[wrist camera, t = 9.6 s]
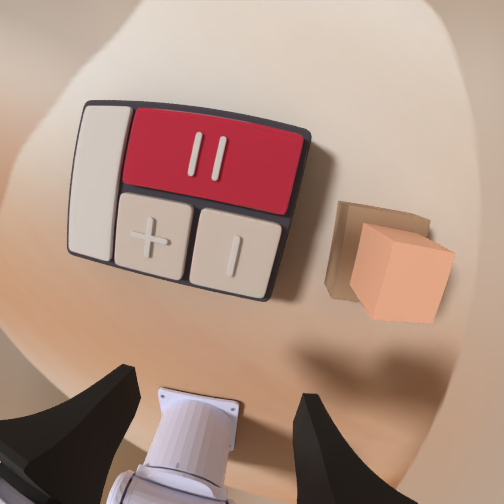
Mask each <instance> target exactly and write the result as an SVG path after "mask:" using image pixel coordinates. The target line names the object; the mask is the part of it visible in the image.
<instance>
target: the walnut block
mask: <svg viewBox="0 0 504 504" xmlns="http://www.w3.org/2000/svg"><path fill="white" fill-rule="evenodd" d="M363 223H368V224H373V225H379V226H384V227H389V228H394V229H399V230H404V231H409V232H413V233H418V234H420V235H422V236H424V237H425V238H427V235H428V230H429V225H430V220H428V219H425V218H423V217H420V216H417V215H414V214H411V213H406V212H401V211H395V210H390V209H385V208H379V207H374V206H368V205H362V204H356V203H350V202H343V201H338V207H337V213H336V220H335V227H334V233H333V239H332V245H331V251H330V256H329V262H328V267H327V272H326V277H325V285H326V287H327V290H328V292H329V294H330V296H331V298H332V299H338V300H351V301H360V300H359V299H358V297H357V295H356V294H355V292H354V291H353V289H352V288H351V286H350V280H351V276H352V272H353V268H354V264H355V260H356V255H357V251H358V247H359V242H360V237H361V232H362V227H363Z"/></svg>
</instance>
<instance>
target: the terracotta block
mask: <svg viewBox="0 0 504 504" xmlns="http://www.w3.org/2000/svg"><path fill="white" fill-rule="evenodd" d="M454 257H455V253H454V252H452V251H450V250H448V249H447V248H445V247H443V246H441V245H439V244H437V243H435V242H433V241H431V240H429V239H427V238H425V237H424V236H422V235H420V234H418V233H413V232H409V231H404V230H399V229H394V228H389V227H384V226H379V225H373V224H368V223H363V227H362V232H361V237H360V242H359V247H358V251H357V255H356V260H355V264H354V268H353V272H352V276H351V280H350V286H351V288H352V289H353V291H354V292H355V294H356V295H357V297H358V299H359V300H360V302H361V303H362V305H363V307H364V308H365V310H366V311H367V313H368V315H369V316H370V318H371V320H384V321H401V322H422V323H432V322H433V320H434V317H435V315H436V312H437V309H438V307H439V304H440V301H441V299H442V296H443V293H444V290H445V287H446V284H447V281H448V278H449V274H450V271H451V268H452V264H453V261H454Z"/></svg>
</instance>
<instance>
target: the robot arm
mask: <svg viewBox="0 0 504 504" xmlns="http://www.w3.org/2000/svg"><path fill="white" fill-rule="evenodd" d="M158 396H159V402H160V408H161V413H162V419H161V421H160V424H159V426H158V429H157V431H156V434H155V436H154V439H153V441H152V444H151V446H150V449H149V451H148V454H147V456H146V459H145V461H144V464H143V465H139V466H138V468H137V471H136V473H135V472H133V471H131V470H128V471H126V472H124V473H121V474H120V475H119V476H118V477H117V479H116V480H115V482H114V484H113V486H112V488H111V491H110V493H109V496H108V499H107V503H106V504H235V502H234V501H233V500H231V499H227V492H228V490H227V489H223V486H224V480H225V473H226V467H227V460H228V454H229V451H233V450H234V443H235V435H236V427H237V419H238V412H239V403H238V402H237V401H232V400H225V399H218V398H212V397H206V396H200V395H195V394H190V393H185V392H180V391H175V390H171V389H166V388H159V390H158ZM140 399H141V396H140V391H139V386H138V381H137V376H136V371H135V367H132V366H128V365H125V364H122V365H120V366H119V367H118V368H116V369H115V370H113V371H112V372H111V373H109V374H108V375H106V376H105V377H104V378H102V379H101V380H99V381H98V382H96V383H95V384H94V385H92V386H91V387H89V388H88V389H86V390H85V391H83V392H81V393H80V394H78V395H76V396H75V397H73V398H71V399H69V400H68V401H66V402H64V403H62V404H59V405H57V406H55V407H53V408H50V409H47V410H45V411H42V412H39V413H36V414H33V415H29V416H25V417H20V418H15V419H8V420H0V461H1V463H0V504H100V501H101V497H102V493H103V488H104V485H105V482H106V478H107V475H108V472H109V469H110V466H111V463H112V460H113V457H114V455H115V453H116V451H117V449H118V447H119V445H120V443H121V441H122V439H123V437H124V435H125V433H126V432H127V430H128V428H129V426H130V424H131V422H132V420H133V418H134V416H135V413H136V411H137V408H138V405H139V402H140ZM233 408H235V409H233ZM293 449H294V459H295V468H296V477H297V504H418V503H417V502H415V501H414V500H411V499H410V498H408V497H406V496H404V495H403V494H401V493H400V492H398V491H397V490H395V489H394V488H392V487H391V486H389V485H388V484H387V483H386V482H384V481H383V480H382V479H381V478H380V477H378V476H377V475H376V474H375V473H374V472H373V471H372V470H371V469H370V468H369V467H368V466H367V465H366V464H365V463H364V462H363V461H362V460H361V459H360V458H359V457H358V456H357V454H356V453H355V452H354V451H353V450H352V448H351V447H350V446H349V444H348V443H347V442H346V440H345V439H344V438H343V436H342V435H341V433H340V432H339V430H338V429H337V427H336V426H335V424H334V422H333V421H332V419H331V417H330V416H329V414H328V412H327V410H326V409H325V407H324V405H323V403H322V401H321V399H320V397H319V395H318V394H308V393H303V395H302V398H301V401H300V404H299V406H298V409H297V412H296V415H295V418H294V421H293Z"/></svg>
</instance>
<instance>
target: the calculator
mask: <svg viewBox="0 0 504 504" xmlns="http://www.w3.org/2000/svg"><path fill="white" fill-rule="evenodd" d="M310 143H311V133H310V132H309V131H308V130H306V129H304V128H300V127H296V126H293V125H289V124H285V123H281V122H277V121H272V120H268V119H264V118H259V117H254V116H249V115H244V114H239V113H234V112H228V111H222V110H216V109H210V108H203V107H196V106H188V105H179V104H169V103H158V102H144V101H122V100H90V101H88V102H86V103H85V105H84V108H83V112H82V116H81V121H80V125H79V130H78V135H77V140H76V146H75V152H74V159H73V166H72V173H71V182H70V192H69V205H68V224H67V250H68V252H69V253H70V254H71V255H74V256H78V257H81V258H85V259H88V260H91V261H95V262H98V263H102V264H106V265H109V266H113V267H116V268H120V269H124V270H128V271H131V272H135V273H139V274H143V275H147V276H151V277H155V278H159V279H163V280H167V281H171V282H175V283H179V284H183V285H187V286H192V287H196V288H200V289H205V290H209V291H214V292H218V293H223V294H227V295H232V296H237V297H241V298H246V299H251V300H256V301H262V302H265V301H268V300H269V299H270V297H271V294H272V291H273V287H274V284H275V280H276V276H277V273H278V269H279V266H280V262H281V258H282V254H283V251H284V247H285V243H286V239H287V236H288V232H289V228H290V224H291V220H292V216H293V213H294V209H295V205H296V201H297V197H298V193H299V189H300V185H301V181H302V176H303V172H304V168H305V164H306V160H307V156H308V151H309V147H310Z"/></svg>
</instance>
